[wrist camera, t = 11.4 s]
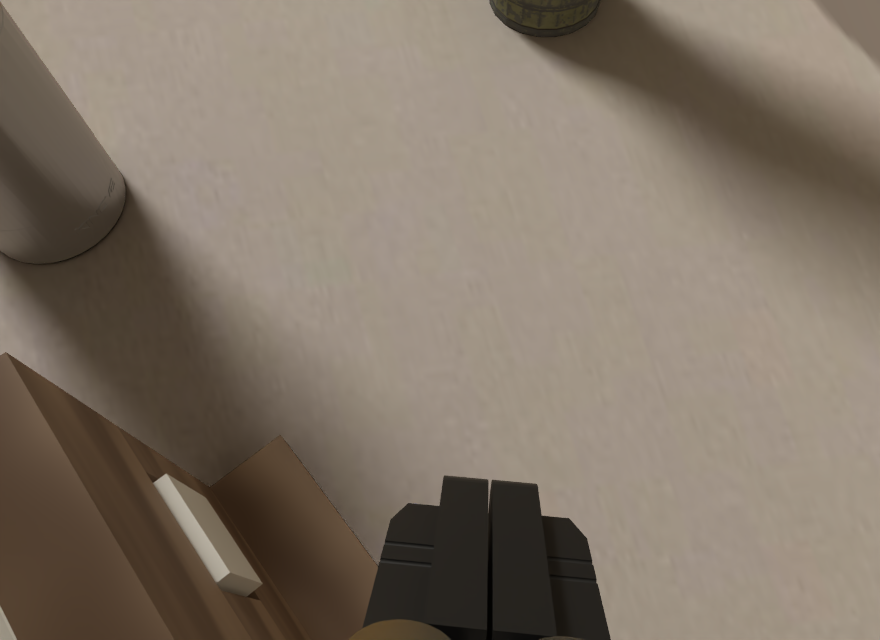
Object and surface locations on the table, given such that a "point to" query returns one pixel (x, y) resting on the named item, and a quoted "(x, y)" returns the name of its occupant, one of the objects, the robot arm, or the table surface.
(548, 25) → the thermos
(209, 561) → the key white
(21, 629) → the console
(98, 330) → the table surface
